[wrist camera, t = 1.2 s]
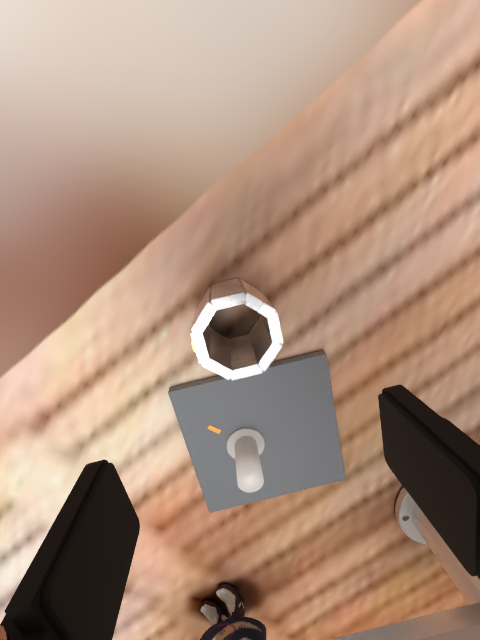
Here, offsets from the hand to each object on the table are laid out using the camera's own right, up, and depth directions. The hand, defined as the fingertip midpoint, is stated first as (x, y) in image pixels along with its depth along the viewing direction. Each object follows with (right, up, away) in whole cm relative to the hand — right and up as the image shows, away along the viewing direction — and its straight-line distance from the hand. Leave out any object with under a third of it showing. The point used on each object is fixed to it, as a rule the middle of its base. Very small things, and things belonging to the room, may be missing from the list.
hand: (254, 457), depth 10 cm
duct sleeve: (-1, +5, +18) cm, 19 cm away
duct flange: (+2, -8, +22) cm, 23 cm away
